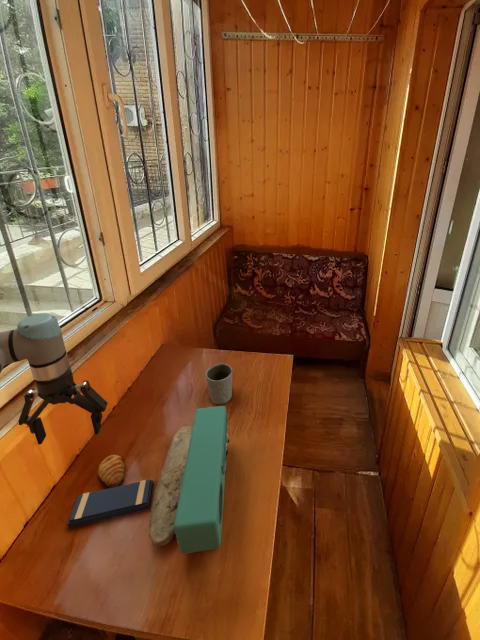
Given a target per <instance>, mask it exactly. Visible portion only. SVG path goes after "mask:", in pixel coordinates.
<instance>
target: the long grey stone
mask: <svg viewBox="0 0 480 640" xmlns="http://www.w3.org/2000/svg"><path fill="white" fill-rule="evenodd" d="M192 428H193V426H192V425H188V424H184V425H182V426H181V427H179V428H178V429H177V430H176V432H175V433H174V434H173V437H172V439H171V442H170V445H169V448H168V451H167V454H166V455H165V457H164V464H163V466H162V469H161V472H160V475H159V479H158V482H157V485H156V486H155V490H154V492H153V495H154V496H153V498H152V505H151V509H150V511H151V515H150V519H149V535H148V536H149V539H150V541H151V544H153V546H155V547H163V546H166V545H167V544H168V543H170V542H171V541H172V539H173V538H174V536H175V535H176V534H175V531H174V523H175V518H176V513H177V507H178V502H179V497H180V492H181V486H182V481H183V476H184V470H185V465H186V460H187V455H188V449H189V444H190V439H191V433H192Z"/></svg>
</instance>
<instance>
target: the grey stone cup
mask: <svg viewBox="0 0 480 640" xmlns="http://www.w3.org/2000/svg"><path fill="white" fill-rule="evenodd" d="M205 379H206V381H207V388H208V392H209V399H210V401H211V402H212V403H213V404H215V405H224V404H226V403H228V402H229V401H231V399H232V396H233V368H232V366H230V365H229V364H226V363H216V364H214V365H212V366H210V367H209V368H208V369H207V370H206V372H205Z"/></svg>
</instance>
